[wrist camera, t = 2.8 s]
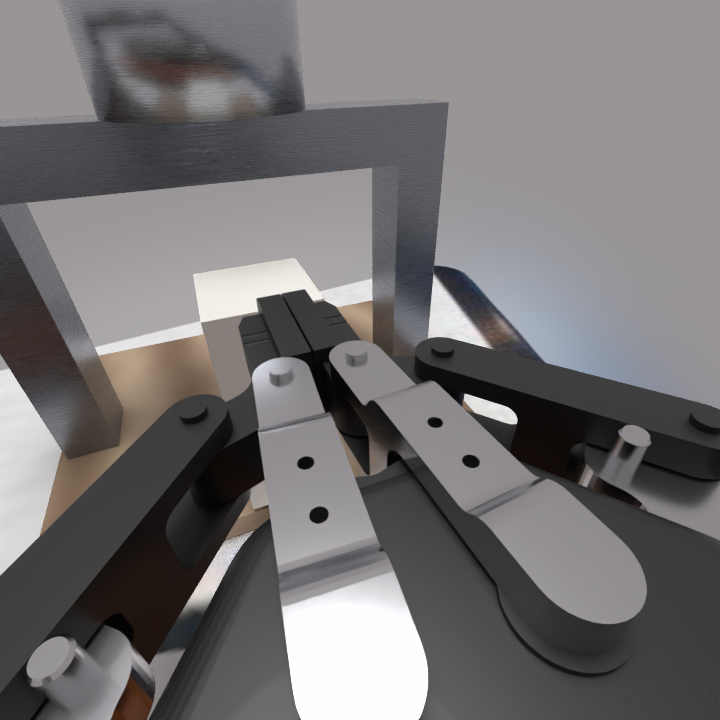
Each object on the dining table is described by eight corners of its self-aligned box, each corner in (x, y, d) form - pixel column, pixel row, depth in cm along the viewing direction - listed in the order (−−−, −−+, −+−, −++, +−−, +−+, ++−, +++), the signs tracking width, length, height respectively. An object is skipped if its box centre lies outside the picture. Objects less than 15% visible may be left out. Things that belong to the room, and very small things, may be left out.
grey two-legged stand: (59, 496, 24) (-389, -131, 10) (83, 394, 32) (-151, -44, 18) (444, 387, 32) (500, -60, 18) (389, 325, 39) (398, -21, 25)
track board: (40, 603, 21) (25, 589, 20) (93, 372, 37) (86, 358, 36) (489, 448, 29) (493, 433, 28) (371, 313, 45) (371, 300, 44)
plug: (253, 509, 23) (200, 322, 16) (237, 434, 28) (191, 265, 21) (338, 481, 24) (324, 298, 17) (309, 414, 29) (289, 250, 22)
